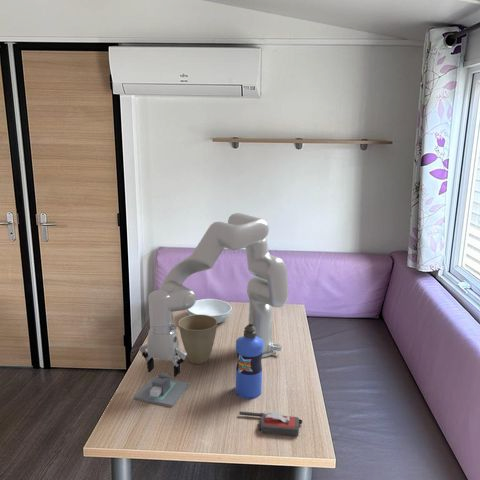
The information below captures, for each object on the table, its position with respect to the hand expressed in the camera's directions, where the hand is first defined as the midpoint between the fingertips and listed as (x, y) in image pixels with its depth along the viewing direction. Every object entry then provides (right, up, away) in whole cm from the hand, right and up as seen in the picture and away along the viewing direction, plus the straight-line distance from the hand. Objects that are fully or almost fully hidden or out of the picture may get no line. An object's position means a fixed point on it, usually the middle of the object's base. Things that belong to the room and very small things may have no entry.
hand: (163, 372), depth 159 cm
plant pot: (+10, -2, +24) cm, 26 cm away
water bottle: (+29, -8, +3) cm, 30 cm away
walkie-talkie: (+35, -13, -15) cm, 40 cm away
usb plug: (-1, -6, 0) cm, 7 cm away
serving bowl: (+12, +7, +60) cm, 61 cm away
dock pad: (-1, -7, +1) cm, 7 cm away
